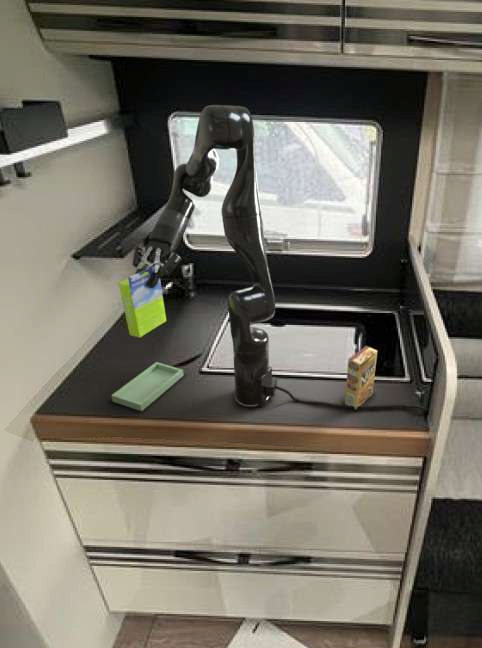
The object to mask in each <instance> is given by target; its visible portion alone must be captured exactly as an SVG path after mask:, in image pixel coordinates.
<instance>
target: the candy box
mask: <svg viewBox="0 0 482 648" xmlns="http://www.w3.org/2000/svg"><path fill="white" fill-rule="evenodd" d="M377 358H378V350H377V349H375V348H372V347H370V346H368V345H365V346H364V347H363V348H361V349H360V350H358V351H357V352H356V353H355V354H353V355H352V356H351V357H349V358H348V360H347V361H348V362H347V372H346V373H347V374H346V384H345V385H346V387H345V397H344V405H347V406H353V407H354V408H355V409H354V410H358V409H357V407H358V406H363V404H364V403H365V402H366V401H367V400H368V399H369V398H370V397H372V395H373V392H374V385H375V384H374V383H375V376H376V375H375V374H376V366H377Z"/></svg>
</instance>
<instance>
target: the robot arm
mask: <svg viewBox="0 0 482 648" xmlns="http://www.w3.org/2000/svg"><path fill="white" fill-rule="evenodd" d="M255 140H256V138H255V128H254V121H253V117H252V114H251V112H250V111H249V109H248V108H247V107H245V106H241V105H226V104H223V105H222V104H209V105H206V106H204V107H203V108H202V110H201V112H200V114H199V117H198V122H197V126H196V133H195V137H194V145H193V150H192V153H191V155H190V157H189V159H188V161H187V163H181V164H179V165H178V166H177V167H176V168H175V170H174V173H173V180H172V181H173V182H172V188H171V193H170V195H169V198H168V201H167V203H166V205H165V206H164V208H163V210H162V212H161V213H160V215H159V217H158V219H157V220H156V222H155V225H154V226H153V228H152V231H151V233H150V235H149V242H148V243H147V244H146V245H145V246H144V247H140V246H139V245H136V246H135V248H134V253H133V259H132V264H131V265H132V266H133V267H135V268H136V271H135V273H134V275H135V274H137V273H140V272H142V271H144V270H147V269H149V268H151V267H153V266H155V267H154V273H152V274H151V276H150V278H149V280H148V283H147V286H148V287H149V288H152V289H153V288H154V287H155V286H156V285H157V283H158V281H159V279H160V280H161V277H163V276H167V277H168V276H170V274H172V272H173V271H174V269H176V267H177V266H178V264H179V263H180V262H181V261H182V258H181V256H179V255H178V254H177V253H175V251H177V250H178V248H179V245H180V243H181V242H182V239H183V237H184V234H185V233H186V230H187V229H188V226H189V225H188V224H189V222H190V220H191V217H192V215H193V213H194V211H195V208H196V203H195V201H194V200H193V199H192V198H191V197H189V196H188V195H187V194H186V193H185V192H188V193H189V194H191V195H193V196H195V197H198V198H204V197H206V196H208V195H209V194H210V192H211V190H212V187H213V176H214V174H215V173H216V171H217V170H218V168H219V165H220V159H219V156H218V153H217V151H216V150H223V151H224V150H235V151H236V153H235V154H236V165H235V173H234V175H233V179H232V181H231V183H230V186H229V188H228V190H227V192H226V194H225V196H224V199H223V202H222V205H221V212H220V213H221V219H222V225H223V231H224V237H225V239H226V241H227V243H228V244H229V246H230V247H231V248H232V249H233V251H234V252H235V253H236V254H237V255H238V256H239V258H240V259H241V260H242V261H243V262H244V264H245V265H246V267H247V268H248V271H249V274H250V276H251V282H252V286H250V287H246V288H242V289H238V290H235V291H233V292H231V293H230V294H229V296H228V298H227V299H228V300H227V311H228V317H229V327H230V328H229V329H230V336H231V340H232V351H233V353H232V354H233V355H232V356H233V373H234V374H233V375H234V398H235V399H234V400H235V402H236V403H237V404H238V405H239V406H241V407H243V408H250V409H251V408H263V406H265V404H266V403H267V402H268V401H269V399H270V398H271V397H274V396H275V394H276V390H278V391H281V392H284V393H286V394H287V395H288V396H289V397H290V398H291V399H292V400H293V401H294V402H298V403H301V404H308V405H320V406H321V405H322V406H328V407H333V408H334V407H335V408H341V409H352V410H353V409H354V410H355V408H354V407H353V406H348V405H346V404H338V403H333V402H332V403H331V402H325V401H315V400H303V399H301V398H300V399H299V398H297V397H295V396H294V395H293V394H292V393H291V391H289V390H288V389H286V388H284V387H281V386H278V377H275V376H273V367H272V366H270V338H269V334H268V333H267V331H266V330H264V329H262V328H259V327H254V326H253V325H256V324H259V323H263V322H266V321H268V320H270V319H272V318H273V317H275V313H276V297H275V291H274V287H273V282H272V278H271V273H270V269H269V264H268V258H267V251H266V243H265V232H264V223H263V222H264V221H263V215H262V207H261V202H260V194H259V187H258V186H259V185H258V175H257V161H256V160H257V159H256V141H255ZM387 408H388V409H389V408H409V409H418V410H421V411H424V412H425V413H427V412H426V410H424V408H425V407H424V406H422V405H414V404H413V405H412V404H401V403H400V404H398V403H397V404H382V405H381V404H379V405H361V406H358V407H357V409H356V410H365V409H387Z"/></svg>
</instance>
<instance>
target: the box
mask: <svg viewBox="0 0 482 648" xmlns="http://www.w3.org/2000/svg"><path fill="white" fill-rule="evenodd" d="M154 267H155V265H153V266H151V267H149V268H148V269H147V270H144V271H142V272H140V273H137V274H135V273H134V274H133V275H130V276H128V278H126V279H123V280H121V281H119V282H118V287H119V291H120V295H121V296H120V297H121V300H122V305H123V309H124V314H125V320H126V323H127V328H128V334H129V336H131V337H137V338H139V339H140V338H142V337H144V336H145V335H147V334H148V333H149V332H151V331H153V330H154V329H156V328H157V327H160V326H161V325H162V324H164V323H166V322H167V321H168V320H167V315H166V309H165V302H164V297H163V290H162V283H161V278H160V279H159V281H158V283H157V285H156V286H155V287H154V288H153V289H152V288H149V287H148V286H147V283H148V280H149V278H150V276H151V274H152V273H154Z"/></svg>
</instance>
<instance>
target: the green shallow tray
mask: <svg viewBox="0 0 482 648" xmlns="http://www.w3.org/2000/svg"><path fill="white" fill-rule="evenodd" d="M184 373H185V372H184V369H181V368H179V367H175V366H171V365H168V364H164V363H162V362H158V361H156V362H155V363H153V364H152V365H150V366H149V367H147V368H146V369H144V371H142V372H140V374H138V375H136V377H134V378H132V379H131V380H130V381H129V382H127V383H125V384H124V385H123V386H122V387H121V388H119V389H117V391H115V392H113V393H112V394H111V401H112V402H113V403H116V404H119V405H121V406H125V407H128V408H131V409H133V410H135V411H136V410H137V411H139V412H143V411H144V410H145V409H146V408H148V407H149V406H150V405H151V404H152V403H153V402H155V401H156V400H157V399H158V398H159V397H160V396H161V395H163V394H164V393H165V392H166V391H167V390H169V388H171V387H172V386H173V385H174V384H176V383H177V382H178V381H179V380H180V379H182V378H183V377H184Z"/></svg>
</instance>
